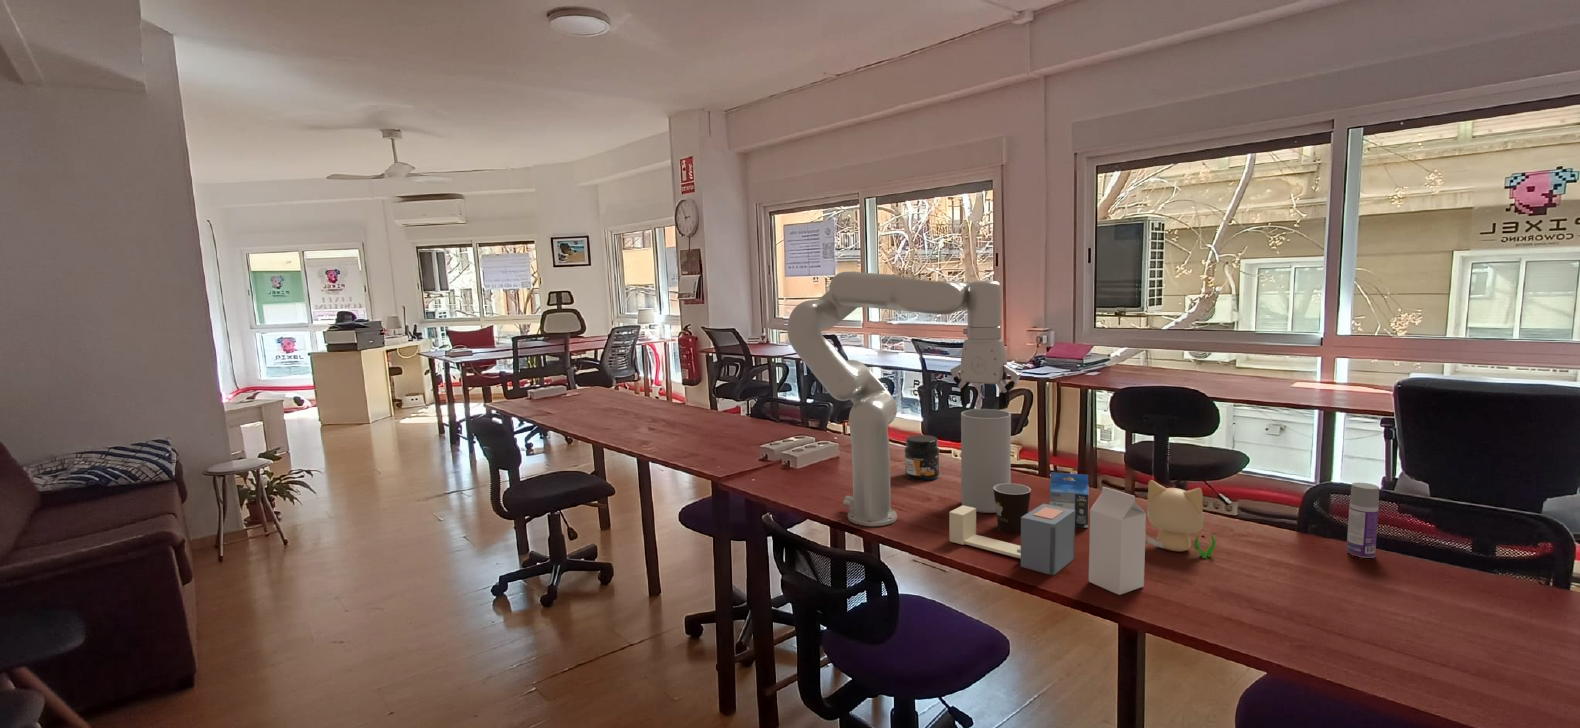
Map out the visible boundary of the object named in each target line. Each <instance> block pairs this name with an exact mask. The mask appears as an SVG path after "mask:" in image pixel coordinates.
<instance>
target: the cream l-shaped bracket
mask: <svg viewBox="0 0 1580 728" xmlns="http://www.w3.org/2000/svg"><path fill="white" fill-rule="evenodd" d="M948 514H949V515H948V516H949V518H948V519H949V521H948V522H949V524H948V525H949V529H948V530H949V542H950V543H956V544H959V545H963V546H964V545H968V546H971V547H975V548H978V549H983V550H986V551H990V552H994V553H998V554H1001V555H1006V556H1010V557H1013V558H1017V559H1020V560H1021V553H1018V552H1017V549H1019V548H1020V547H1021V545H1019V544H1015V543H1010V542H1006V541H1004V540H998V539H994V538H991V537H987V536H982V535H978V534H977V512H976V508H973V507H968V506H964V505H960V506H958V507H956V508H955V509H952V510H950V511H949V513H948Z"/></svg>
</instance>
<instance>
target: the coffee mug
mask: <svg viewBox="0 0 1580 728" xmlns="http://www.w3.org/2000/svg"><path fill="white" fill-rule="evenodd" d="M993 488H994V497H995V505H996V520H997V528H998V530H999V532H1003V533H1006V534H1013V535H1015V534H1016V535H1017V534H1021V517H1022V516H1024V515H1026V514H1027V513H1029V511H1030V510H1029V509H1030V502H1031V501H1030V500H1031V494H1032V489H1031V488H1030V487H1029V486H1027V485H1024V484H1020V483H1012V482H1010V483H1005V484H998V485H995V486H994V487H993Z"/></svg>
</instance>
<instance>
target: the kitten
mask: <svg viewBox="0 0 1580 728" xmlns="http://www.w3.org/2000/svg"><path fill="white" fill-rule="evenodd" d="M1147 488H1148V489H1147V490H1148V492H1147V508H1146V518H1147V519H1148V521H1149V523H1150V524H1151V525H1152V526H1154V527H1156V528H1157V529H1159V530H1160V532H1159V533H1158V534H1157V537H1156V539H1155V538H1154V537H1151V536H1150V535H1148V534H1147V533H1146V532H1145V542H1147V543H1149V544H1150V545H1152V546H1155V547H1158V548H1161V549H1165V550H1168V551H1170V552H1171V551H1172V552H1185V551H1188V550H1189V549H1190V548H1191V546H1192V540H1191V537H1190V535H1189V534H1195V533H1198V532H1200V530H1201V529H1202V528H1203V526H1204V521H1205V518H1204V513H1203V509H1204V506H1203V505H1204V504H1203V495H1204V494H1203V491H1202V488H1201V487H1197V488H1193V489H1189V490H1184V489H1181V488H1176V487H1168V488H1167V487H1165V486H1163V485H1161V484H1159V483H1158V482H1156V481H1155V480H1153V479H1151V480H1149V481H1148V484H1147ZM1210 537H1211V544H1210V545H1209V547H1208V548H1207V550H1206V552H1205V551H1204V550H1203V549H1202V548H1201V547H1200V544H1199V535H1197V536H1196V537H1195V539H1194V542H1193V543H1194V544H1193V545H1194V548H1195V550H1196V551H1197V552H1198V553H1199V556H1200V555H1201V556H1202V557H1201V558H1202V559H1207V558H1209V557H1211V558H1212V556H1211V554H1212V553H1213V551H1214V549H1215V547H1216V544H1217V541H1216V538H1215V536H1214V535H1213V534H1212V533H1211V536H1210ZM1212 555H1213V554H1212ZM1207 556H1209V557H1207Z"/></svg>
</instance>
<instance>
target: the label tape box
mask: <svg viewBox="0 0 1580 728" xmlns="http://www.w3.org/2000/svg"><path fill="white" fill-rule="evenodd" d="M1068 478H1070V479H1074V480H1069V479H1068ZM1067 479H1068V480H1067ZM1089 489H1090V486H1089V475H1088V474H1084V473H1083V474H1081V473H1080V474H1079V473H1066V472H1065V473H1064V472H1050V482H1049V503H1048V505H1053V506H1057V507H1062V508H1067V509H1072V510H1075V528H1085V529H1088V528H1089V517H1090V509H1089V507H1090V506H1089V505H1090V490H1089Z"/></svg>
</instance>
